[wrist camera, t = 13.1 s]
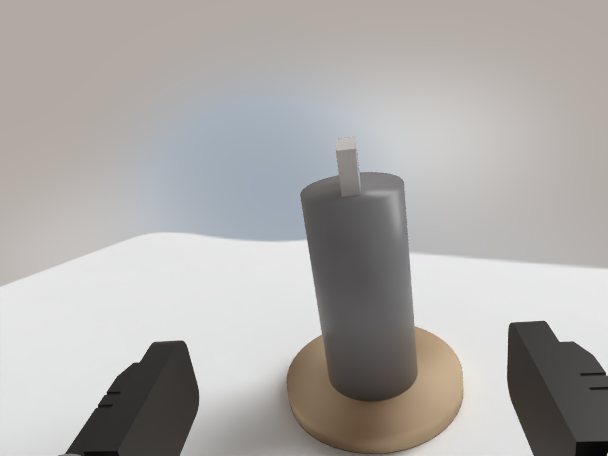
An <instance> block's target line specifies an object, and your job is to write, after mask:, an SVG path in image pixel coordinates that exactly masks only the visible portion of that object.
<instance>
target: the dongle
mask: <svg viewBox="0 0 608 456" xmlns="http://www.w3.org/2000/svg"><path fill="white" fill-rule="evenodd" d="M336 155H337V163H338V171H339V175H338V176H334V177H330V178H326V179H323V180H320V181H317V182H315V183H312V184H310V185H309V186H307V187H306V188H304V189H303V190H302V192H301V195H300V196H301V202H302V209H303V215H304V221H305V228H306V234H307V241H308V247H309V253H310V260H311V266H312V273H313V279H314V285H315V292H316V298H317V305H318V311H319V317H320V324H321V330H322V337H323V343H324V349H325V356H326V362H327V369H328V375H329V380H330V382H331V384H332V386H333V387H334V388H335V389H336V390H337V391H338V392H339V393H341V394H342V395H344V396H346V397H348V398H351V399H355V400H359V401H367V402H374V401H383V400H388V399H391V398H394V397H396V396H399V395H401V394H402V393H404V392H405V391H407V390H408V389H409V388H410V387H411V386H412V385H413V384H414V382H415V380H416V378H417V374H418V367H417V354H416V340H415V327H414V314H413V300H412V287H411V273H410V260H409V247H408V233H407V219H406V206H405V193H404V181H403V180H402V179H401V178H400V177H398V176H395V175H392V174H387V173H376V172H364V173H360V172H359V163H358V154H357V145H356V137H348V138H340V139H338V142H337V148H336Z"/></svg>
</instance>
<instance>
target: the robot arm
mask: <svg viewBox="0 0 608 456" xmlns="http://www.w3.org/2000/svg"><path fill="white" fill-rule="evenodd" d="M507 381H508V389H509V394H510V398H511V401H512V404H513V407H514V409H515V411H516V414H517V416H518V419H519V421H520V423H521V426H522V428H523V431H524V433H525V436H526V438H527V440H528V443H529V445H530V448H531V450H532V452H533V455H534V456H608V376H606V372H605V371H604V369H603V368H602V367H601V365H600V364H599V362H598V361H597V360H596V358H595V357H594V356H593V355H592V354H591V353H589V352H588V351H586V350H585V349H583V348H582V347H580V346H579V345H578V344H576V343H575V342H559V341H558V339H557V338H556V336H555V334H554V333H553V331H552V330H551V328H550V327H549V325H548V324H547V322H545V321H532V322H515V323H510V325H509V330H508V364H507ZM198 406H199V389H198V385H197V381H196V377H195V374H194V370H193V366H192V363H191V359H190V355H189V352H188V348H187V345H186V343H185V342H184V341H164V342H154V343H152V344H151V346H150V347H149V349H148V350H147V352H146V353H145V355H144V357H143V358H142V360H141V361H140V363H133V364H132V365H131V366H129V367H128V368H127V369H126V370H125V371H123V372H122V373H121V374H120V375H119V376H117V378H116V379H115V381H114V382H113V384H112V385H111V387H110V388H109V389H108V391H107V395H104V397H103V398H102V400H101V401H100V403H99V404H98V408H96V409H95V410H94V412H93V413H92V415H91V416H90V418H89V419H88V421H87V422H86V424H85V425H84V427H83V428H82V430H81V431H80V433H79V434H78V435H77V437H76V438H75V440H74V441H73V443H72V444H71V446H70V447H69V449H68V450H67V452H66V453H65V454H64V455H59V456H180V453H181V451H182V448H183V446H184V444H185V441H186V439H187V436H188V434H189V431H190V429H191V426H192V424H193V421H194V419H195V416H196V414H197V411H198Z"/></svg>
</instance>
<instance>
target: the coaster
mask: <svg viewBox="0 0 608 456" xmlns="http://www.w3.org/2000/svg"><path fill="white" fill-rule="evenodd" d="M414 327H415V326H414ZM415 340H416V354H417V367H418V374H417V378H416V380H415V382H414V384H413V385H412V386H411V387H410V388H409V389H408V390H407V391H405V392H404V393H402V394H401V395H399V396H396V397H394V398H391V399H388V400H383V401H374V402H367V401H359V400H355V399H351V398H348V397H346V396H344V395H342V394H341V393H339V392H338V391H337V390H336V389H335V388H334V387H333V386H332V384H331V382H330V380H329V375H328V369H327V362H326V356H325V349H324V343H323V337H322V335H321V336H319V337H317V338H315V339H314V340H312V341H311V342H310V343H308V344H307V345H306V346H305V347H304V348H303V349H302V350H301V351H300V352H299V353H298V354H297V355H296V357H295V358H294V360H293V361H292V363H291V365H290V368H289V371H288V374H287V389H288V394H289V399H290V404H291V408H292V411H293V413H294V415H295V417H296V419H297V421H298V422H299V423H300V425H301V426H302V427H303V428H304V429H305V430H306V431H307V432H308V433H309V434H311V435H312V436H314V437H315V438H316V439H318V440H320V441H322V442H324V443H326V444H328V445H330V446H333V447H336V448H338V449H342V450H346V451H351V452H358V453H374V454H378V453H390V452H396V451H401V450H405V449H408V448H412V447H415V446H417V445H420V444H422V443H424V442H427V441H428V440H430V439H432V438H433V437H435V436H437V435H438V434H439V433H441V432H442V431H443V430H444V429H446V428H447V427H448V425H449V424H450V423H451V422H452V421H453V420H454V418H455V417H456V415H457V414H458V412H459V409H460V407H461V404H462V399H463V372H462V367H461V363H460V361H459V359H458V357H457V355H456V354H455V352H454V351H453V350H452V348H451V347H450V346H449V345H448V344H447V343H445V342H444V341H443V340H442V339H440V338H439V337H437V336H436V335H434V334H432V333H430V332H428V331H426V330H423V329H421V328H418V327H415Z"/></svg>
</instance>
